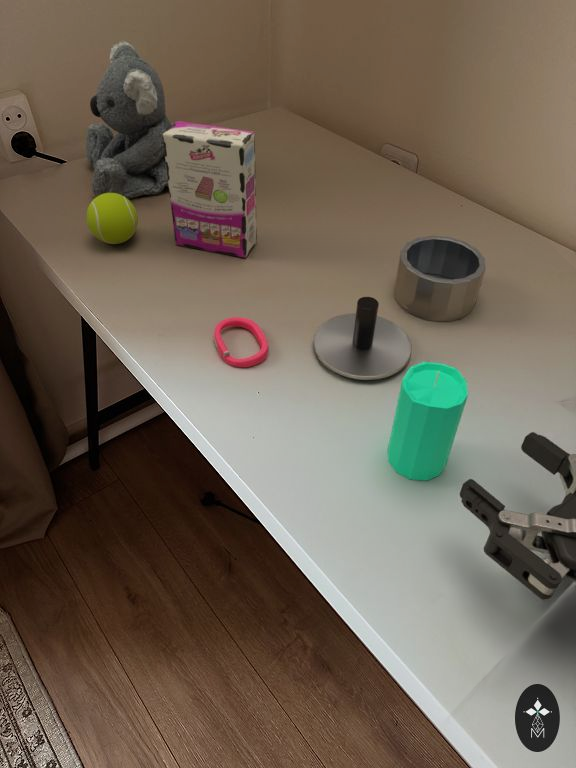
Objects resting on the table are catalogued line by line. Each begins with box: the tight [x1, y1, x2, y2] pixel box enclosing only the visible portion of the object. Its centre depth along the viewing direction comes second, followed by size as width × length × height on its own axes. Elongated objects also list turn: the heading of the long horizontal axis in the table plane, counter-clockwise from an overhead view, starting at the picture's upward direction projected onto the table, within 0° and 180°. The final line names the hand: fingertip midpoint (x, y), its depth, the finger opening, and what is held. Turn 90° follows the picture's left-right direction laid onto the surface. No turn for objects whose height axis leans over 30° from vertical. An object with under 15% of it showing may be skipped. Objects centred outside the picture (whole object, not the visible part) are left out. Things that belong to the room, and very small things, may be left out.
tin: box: [393, 235, 487, 322], centre depth 82 cm, size 11×11×6 cm
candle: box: [387, 361, 469, 482], centre depth 61 cm, size 6×6×12 cm
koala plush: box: [85, 39, 174, 200], centre depth 100 cm, size 17×18×20 cm
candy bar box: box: [163, 120, 258, 258], centre depth 87 cm, size 11×5×16 cm, turn 73°
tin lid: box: [313, 296, 412, 381], centre depth 74 cm, size 12×12×7 cm
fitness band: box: [212, 316, 269, 368], centre depth 76 cm, size 8×6×2 cm
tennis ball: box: [86, 193, 139, 245], centre depth 90 cm, size 7×7×7 cm
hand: (496, 462), depth 56 cm, fingers open, 8 cm apart
